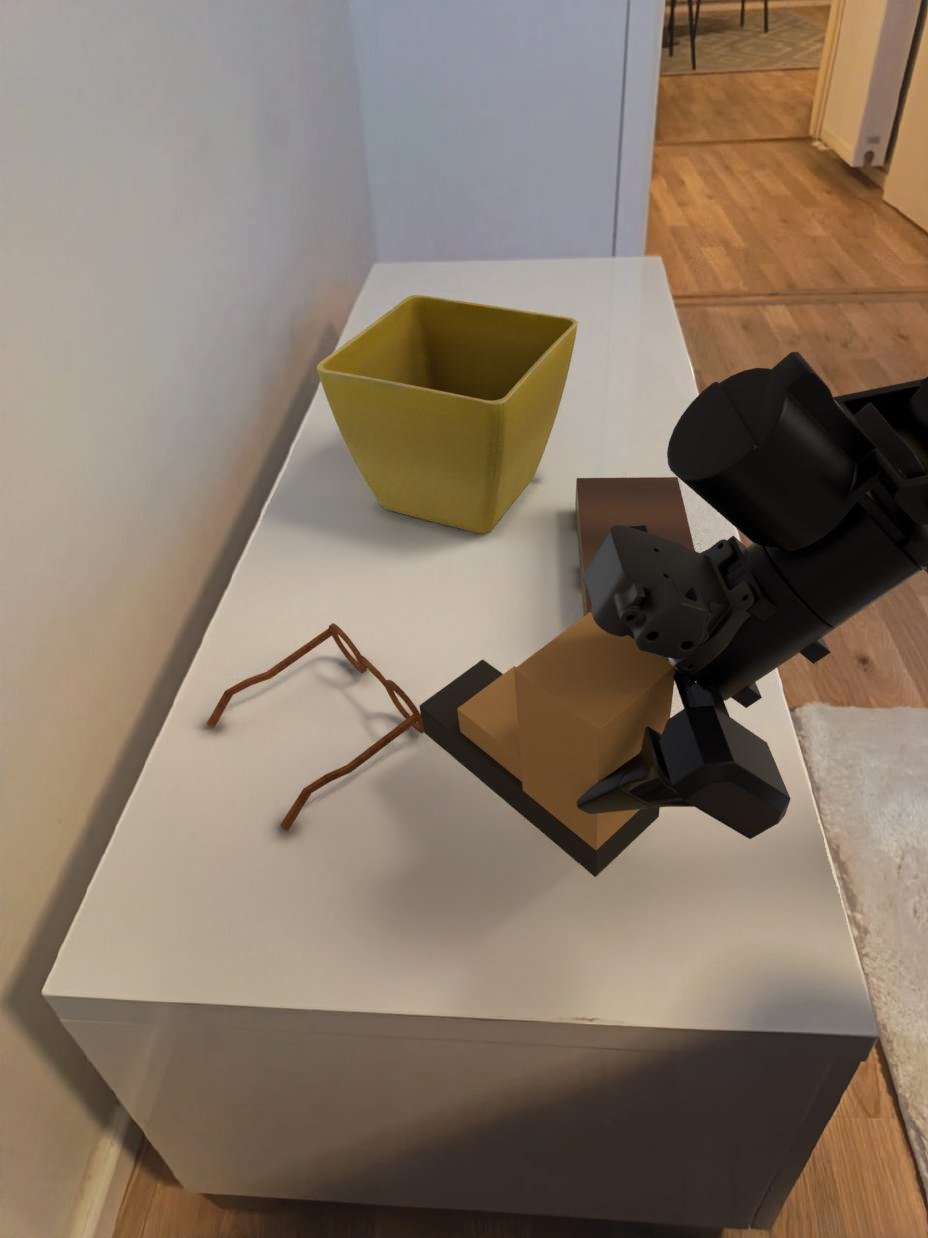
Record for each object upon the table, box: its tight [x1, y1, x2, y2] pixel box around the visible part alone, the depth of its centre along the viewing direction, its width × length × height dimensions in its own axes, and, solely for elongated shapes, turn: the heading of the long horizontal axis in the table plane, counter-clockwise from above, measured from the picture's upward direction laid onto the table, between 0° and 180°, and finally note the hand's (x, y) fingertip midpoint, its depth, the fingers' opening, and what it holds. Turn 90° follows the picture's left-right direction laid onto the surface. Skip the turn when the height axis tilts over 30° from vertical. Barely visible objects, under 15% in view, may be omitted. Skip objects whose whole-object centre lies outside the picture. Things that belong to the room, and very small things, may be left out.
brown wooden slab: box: [574, 476, 696, 617], centre depth 80 cm, size 22×10×4 cm, turn 177°
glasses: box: [206, 622, 425, 831], centre depth 67 cm, size 13×13×5 cm
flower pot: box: [316, 294, 579, 534], centre depth 88 cm, size 19×19×17 cm
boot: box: [418, 612, 676, 878], centre depth 53 cm, size 16×6×14 cm, turn 42°
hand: (569, 745), depth 50 cm, fingers closed on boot, 8 cm apart
